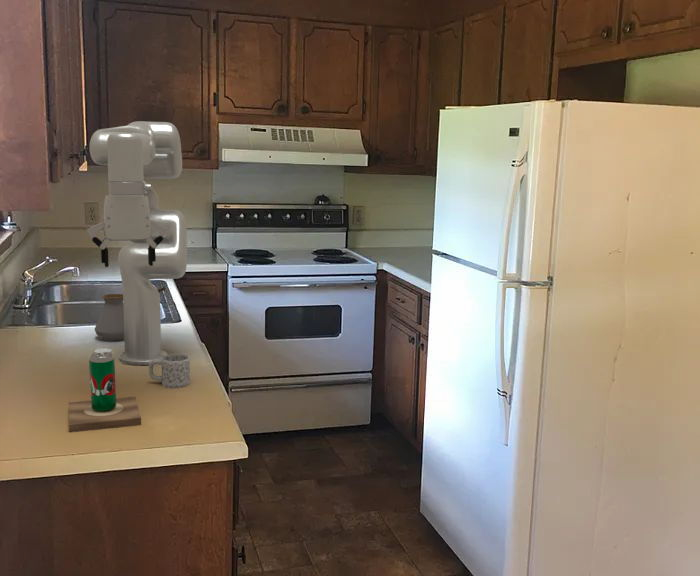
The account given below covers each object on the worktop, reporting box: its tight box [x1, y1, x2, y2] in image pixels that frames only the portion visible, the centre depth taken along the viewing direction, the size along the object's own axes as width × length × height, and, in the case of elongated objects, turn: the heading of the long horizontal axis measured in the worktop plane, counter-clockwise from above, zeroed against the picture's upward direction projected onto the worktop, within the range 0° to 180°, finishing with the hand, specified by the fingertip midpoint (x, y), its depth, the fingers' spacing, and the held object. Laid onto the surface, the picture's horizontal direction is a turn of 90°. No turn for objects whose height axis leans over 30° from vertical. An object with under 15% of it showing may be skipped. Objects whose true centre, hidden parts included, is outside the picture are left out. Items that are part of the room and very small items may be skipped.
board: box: [68, 396, 142, 433], centre depth 158 cm, size 14×14×2 cm
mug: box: [148, 353, 191, 389], centre depth 181 cm, size 10×7×7 cm, turn 86°
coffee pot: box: [94, 287, 168, 342], centre depth 223 cm, size 21×12×15 cm, turn 107°
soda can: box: [88, 352, 117, 412], centre depth 157 cm, size 5×5×12 cm
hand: (128, 265), depth 168 cm, fingers open, 9 cm apart
